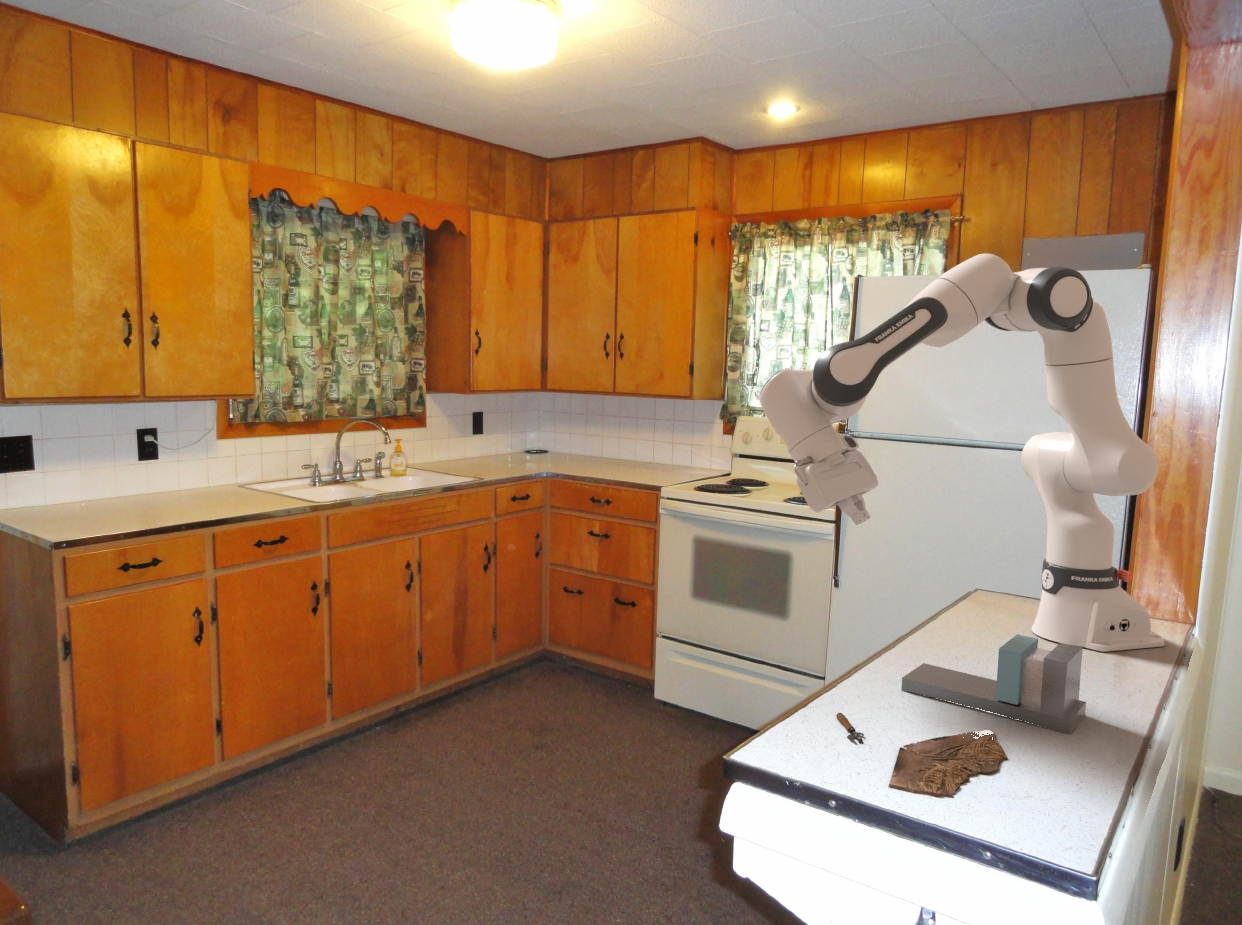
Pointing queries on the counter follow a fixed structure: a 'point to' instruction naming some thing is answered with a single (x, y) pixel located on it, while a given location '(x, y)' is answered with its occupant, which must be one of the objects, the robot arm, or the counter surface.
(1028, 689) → the steel block
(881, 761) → the counter surface
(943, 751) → the wooden fragment
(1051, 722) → the vise bed
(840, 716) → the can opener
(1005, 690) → the slide jaw
